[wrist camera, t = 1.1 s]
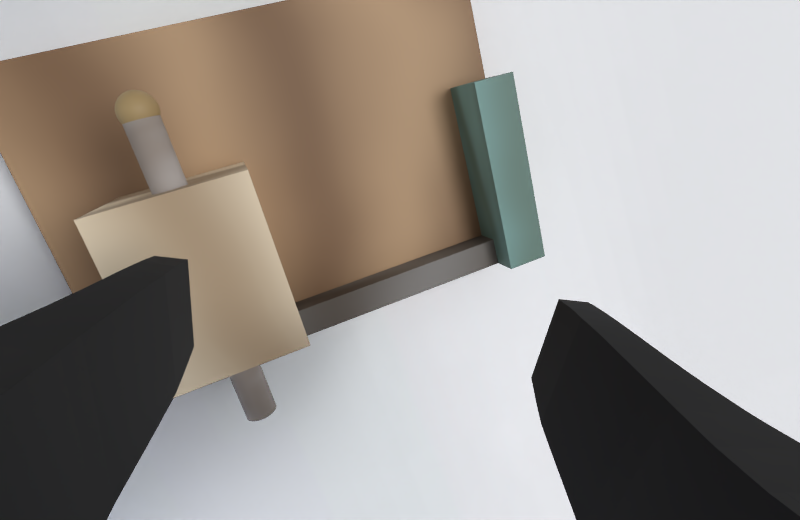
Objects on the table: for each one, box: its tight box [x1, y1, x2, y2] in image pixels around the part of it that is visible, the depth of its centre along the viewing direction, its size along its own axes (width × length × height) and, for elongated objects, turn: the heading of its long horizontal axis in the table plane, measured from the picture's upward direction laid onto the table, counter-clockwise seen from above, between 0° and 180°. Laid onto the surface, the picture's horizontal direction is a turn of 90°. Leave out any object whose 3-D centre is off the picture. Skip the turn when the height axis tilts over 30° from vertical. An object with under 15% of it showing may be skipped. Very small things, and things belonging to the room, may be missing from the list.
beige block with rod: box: [74, 90, 310, 421], centre depth 15 cm, size 4×10×5 cm, turn 15°
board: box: [0, 0, 545, 336], centre depth 17 cm, size 16×11×4 cm
